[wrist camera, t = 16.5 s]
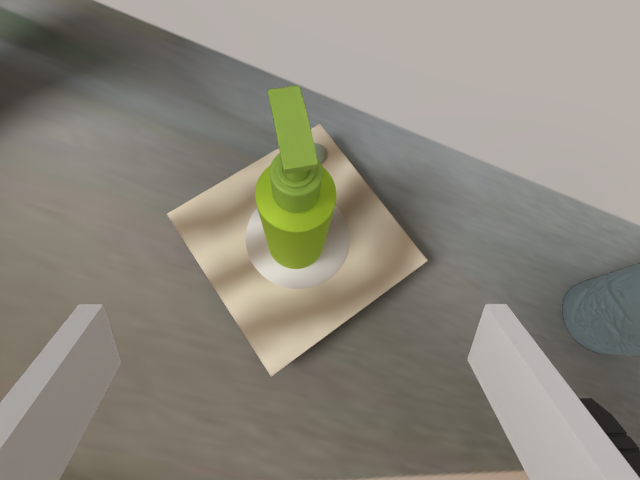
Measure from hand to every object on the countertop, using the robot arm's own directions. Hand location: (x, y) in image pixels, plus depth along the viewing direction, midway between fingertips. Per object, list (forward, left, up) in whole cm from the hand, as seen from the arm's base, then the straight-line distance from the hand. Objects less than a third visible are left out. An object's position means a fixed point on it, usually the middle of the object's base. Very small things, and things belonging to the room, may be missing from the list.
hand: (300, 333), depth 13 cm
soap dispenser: (-9, +6, -24) cm, 27 cm away
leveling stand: (-9, +6, -30) cm, 31 cm away
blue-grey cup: (+18, +31, -30) cm, 47 cm away
